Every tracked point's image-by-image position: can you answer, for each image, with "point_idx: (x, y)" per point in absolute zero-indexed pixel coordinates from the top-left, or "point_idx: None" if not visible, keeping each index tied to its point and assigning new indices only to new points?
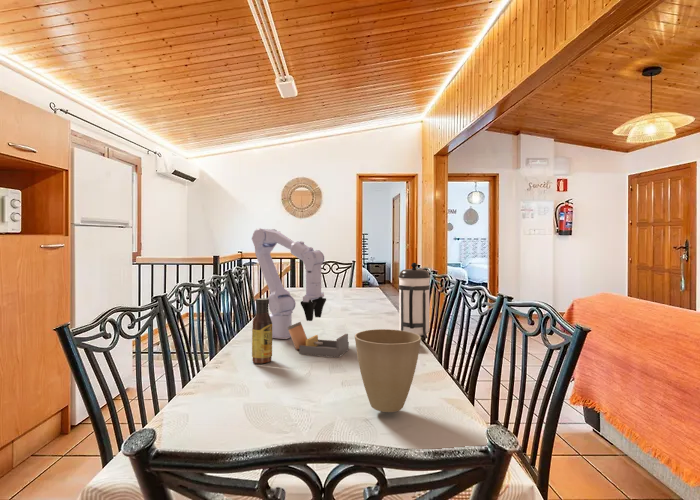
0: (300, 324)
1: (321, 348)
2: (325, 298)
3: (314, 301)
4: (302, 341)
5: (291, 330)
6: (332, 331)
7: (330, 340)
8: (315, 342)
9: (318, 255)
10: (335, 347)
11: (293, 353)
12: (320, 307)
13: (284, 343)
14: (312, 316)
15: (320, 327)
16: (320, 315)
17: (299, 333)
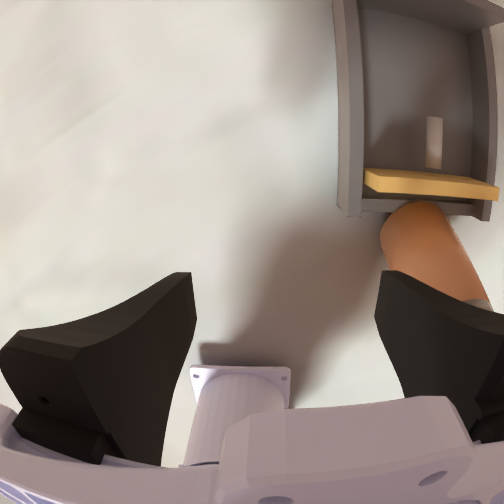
0: (476, 300)
1: (494, 101)
2: (11, 359)
3: (150, 451)
4: (454, 231)
5: None
6: (17, 250)
7: (353, 88)
8: (440, 158)
9: None
10: (362, 57)
11: (462, 239)
12: (150, 331)
13: (311, 354)
14: (415, 281)
15: (6, 322)
16: (186, 276)
17: (473, 267)
